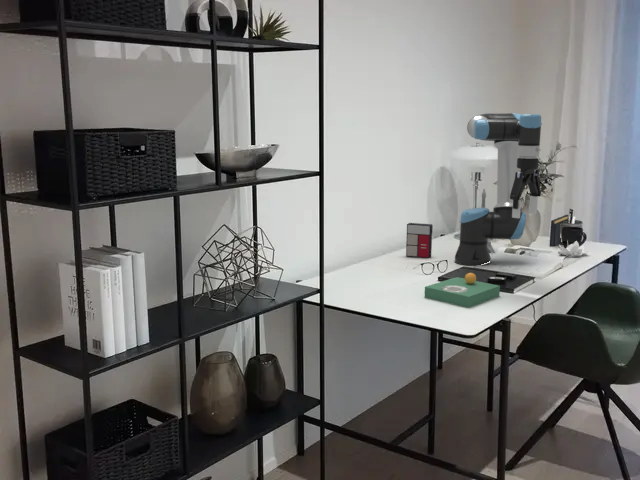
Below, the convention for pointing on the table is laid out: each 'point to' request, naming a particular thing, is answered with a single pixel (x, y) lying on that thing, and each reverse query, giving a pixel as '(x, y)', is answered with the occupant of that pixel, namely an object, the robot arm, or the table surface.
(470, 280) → the ball
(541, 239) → the table surface
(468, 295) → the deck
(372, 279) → the table surface
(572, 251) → the lotus flower
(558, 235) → the dark blue book
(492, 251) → the eiffel tower
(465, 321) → the table surface
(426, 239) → the grey and red block
